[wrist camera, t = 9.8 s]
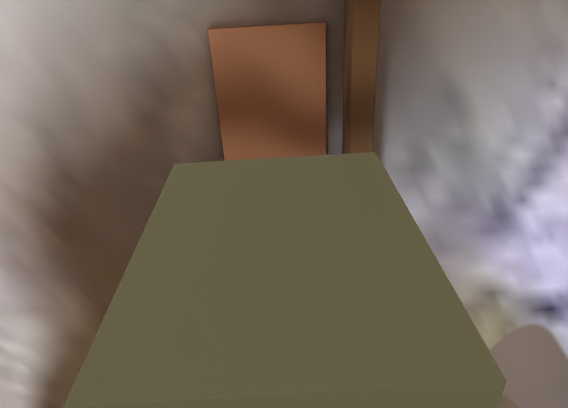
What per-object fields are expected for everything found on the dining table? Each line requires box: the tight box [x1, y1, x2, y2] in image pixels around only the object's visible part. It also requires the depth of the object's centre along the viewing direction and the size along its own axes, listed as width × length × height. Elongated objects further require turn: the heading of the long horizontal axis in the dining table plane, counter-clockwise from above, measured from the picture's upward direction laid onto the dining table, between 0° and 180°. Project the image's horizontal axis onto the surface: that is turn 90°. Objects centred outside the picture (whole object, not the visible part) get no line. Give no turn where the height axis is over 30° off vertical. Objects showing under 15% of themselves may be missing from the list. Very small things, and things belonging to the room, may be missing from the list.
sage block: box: [63, 152, 506, 408], centre depth 9 cm, size 4×8×6 cm, turn 2°
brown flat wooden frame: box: [208, 0, 380, 161], centre depth 23 cm, size 15×13×2 cm
